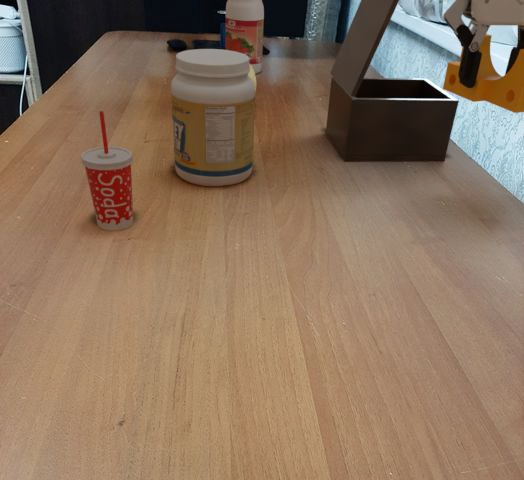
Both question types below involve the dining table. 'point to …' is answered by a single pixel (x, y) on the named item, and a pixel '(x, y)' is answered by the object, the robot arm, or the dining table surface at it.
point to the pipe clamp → (490, 81)
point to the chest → (391, 120)
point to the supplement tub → (213, 117)
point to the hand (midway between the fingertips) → (489, 83)
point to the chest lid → (362, 42)
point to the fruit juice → (246, 29)
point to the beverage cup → (110, 183)
